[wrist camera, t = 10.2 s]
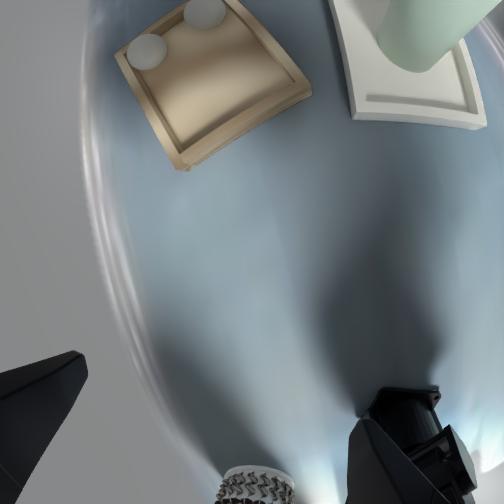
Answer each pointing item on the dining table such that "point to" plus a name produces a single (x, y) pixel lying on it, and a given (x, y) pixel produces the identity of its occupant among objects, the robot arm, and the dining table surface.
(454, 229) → the dining table surface
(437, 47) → the sage green tall cylinder
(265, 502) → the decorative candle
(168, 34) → the wooden tray
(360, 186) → the dining table surface
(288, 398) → the dining table surface
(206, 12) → the white ball
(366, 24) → the white tray
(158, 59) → the pebble
